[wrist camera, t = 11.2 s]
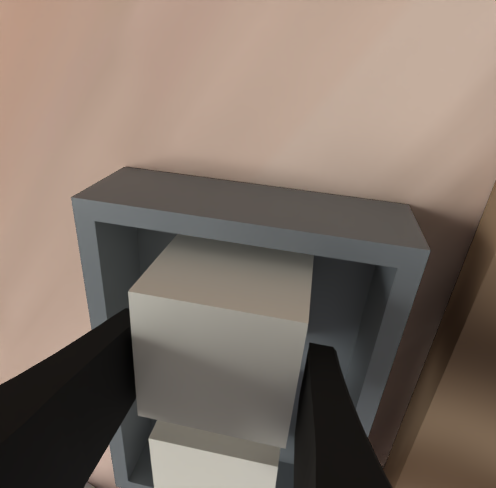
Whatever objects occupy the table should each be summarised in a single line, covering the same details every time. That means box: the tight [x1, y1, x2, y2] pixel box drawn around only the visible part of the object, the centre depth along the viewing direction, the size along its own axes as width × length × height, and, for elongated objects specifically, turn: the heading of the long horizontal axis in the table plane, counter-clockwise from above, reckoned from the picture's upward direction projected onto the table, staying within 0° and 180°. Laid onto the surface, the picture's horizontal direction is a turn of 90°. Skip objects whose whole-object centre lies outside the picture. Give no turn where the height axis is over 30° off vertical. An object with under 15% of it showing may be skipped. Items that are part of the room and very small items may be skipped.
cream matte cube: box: [148, 420, 280, 488], centre depth 14 cm, size 4×4×4 cm
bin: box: [71, 167, 431, 488], centre depth 14 cm, size 13×9×3 cm
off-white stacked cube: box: [128, 234, 314, 449], centre depth 11 cm, size 4×4×4 cm
